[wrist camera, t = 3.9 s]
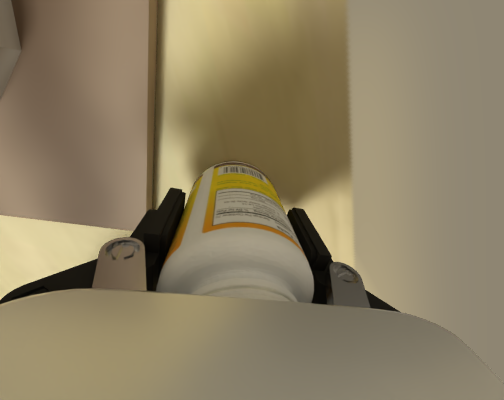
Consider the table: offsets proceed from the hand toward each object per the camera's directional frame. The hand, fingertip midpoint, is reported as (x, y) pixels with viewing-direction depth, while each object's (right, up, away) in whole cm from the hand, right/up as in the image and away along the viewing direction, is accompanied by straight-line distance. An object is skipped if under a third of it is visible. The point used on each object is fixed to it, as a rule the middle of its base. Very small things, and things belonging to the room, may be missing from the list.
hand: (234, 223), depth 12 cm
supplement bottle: (0, +1, +3) cm, 3 cm away
